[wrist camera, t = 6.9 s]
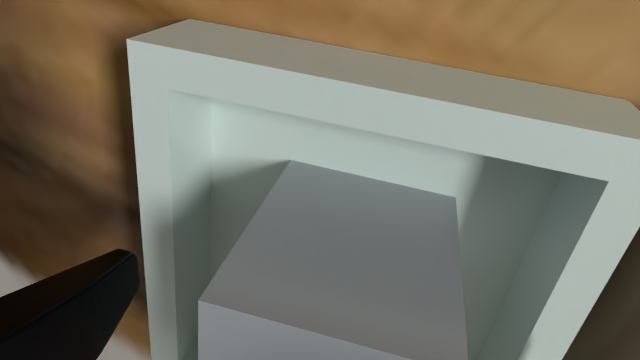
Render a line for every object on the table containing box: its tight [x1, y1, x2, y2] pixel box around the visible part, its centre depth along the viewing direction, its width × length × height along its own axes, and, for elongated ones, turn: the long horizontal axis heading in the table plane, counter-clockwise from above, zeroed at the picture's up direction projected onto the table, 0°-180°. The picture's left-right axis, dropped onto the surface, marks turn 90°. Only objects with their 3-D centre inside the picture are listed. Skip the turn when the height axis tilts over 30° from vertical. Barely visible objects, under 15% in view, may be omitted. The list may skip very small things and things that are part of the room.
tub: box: [126, 19, 640, 360], centre depth 11 cm, size 10×10×2 cm
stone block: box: [198, 160, 468, 360], centre depth 10 cm, size 4×4×5 cm
